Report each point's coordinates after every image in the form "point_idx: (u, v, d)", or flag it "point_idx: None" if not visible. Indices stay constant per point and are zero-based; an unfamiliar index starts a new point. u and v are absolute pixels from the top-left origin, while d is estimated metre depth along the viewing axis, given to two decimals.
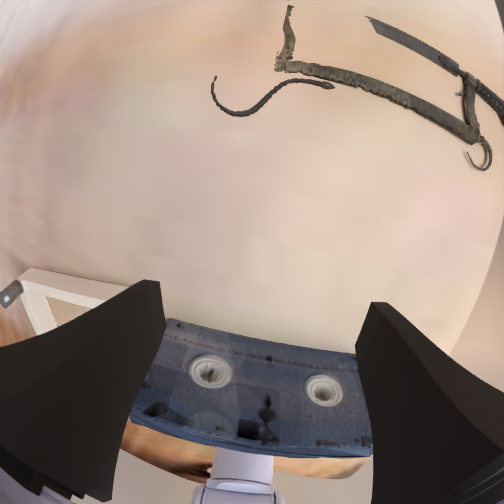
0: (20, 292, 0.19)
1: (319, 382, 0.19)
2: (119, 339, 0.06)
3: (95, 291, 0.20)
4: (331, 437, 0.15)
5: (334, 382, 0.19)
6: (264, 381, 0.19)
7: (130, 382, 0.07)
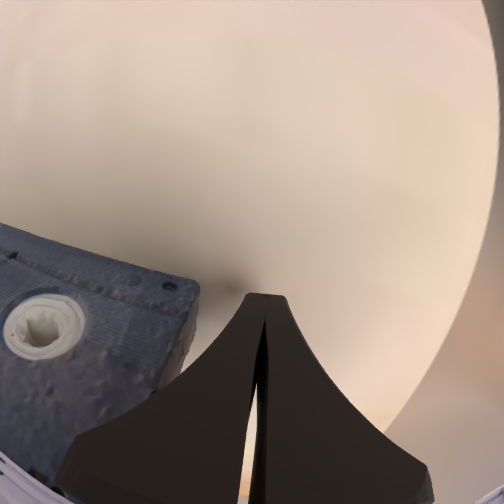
0: None
1: (49, 307, 0.07)
2: (256, 363, 0.06)
3: None
4: None
5: (75, 315, 0.07)
6: None
7: (251, 405, 0.07)
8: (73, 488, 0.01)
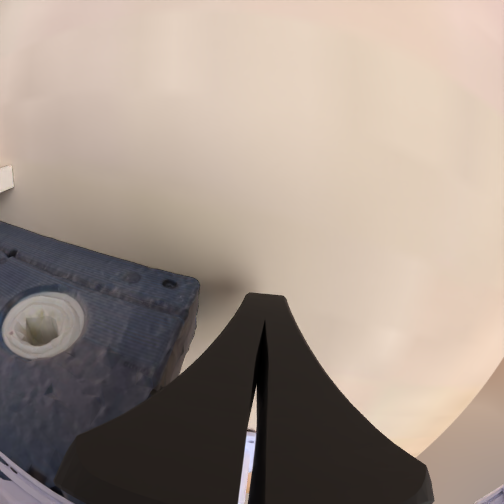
0: None
1: (48, 305, 0.07)
2: (256, 363, 0.06)
3: None
4: None
5: (74, 313, 0.07)
6: None
7: (251, 405, 0.07)
8: (73, 488, 0.01)
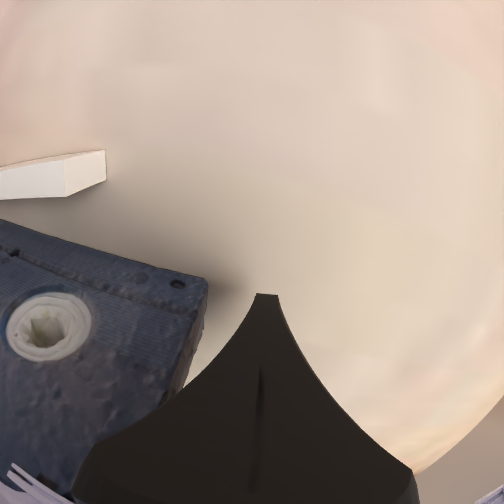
0: None
1: (53, 306, 0.07)
2: None
3: (17, 165, 0.07)
4: None
5: (81, 314, 0.07)
6: None
7: None
8: (96, 500, 0.01)
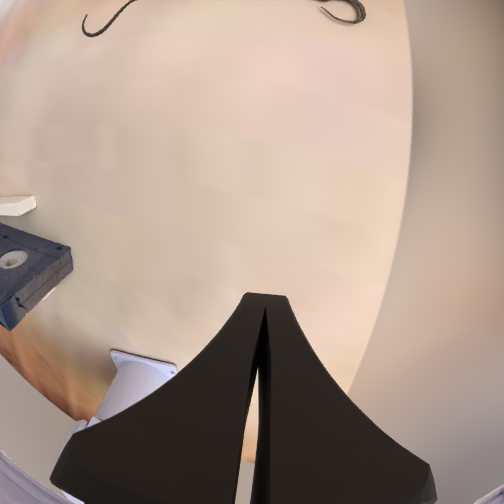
0: None
1: (16, 255, 0.18)
2: (253, 363, 0.06)
3: (3, 200, 0.18)
4: None
5: (23, 256, 0.18)
6: None
7: (248, 405, 0.07)
8: (69, 486, 0.01)
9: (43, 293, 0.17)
